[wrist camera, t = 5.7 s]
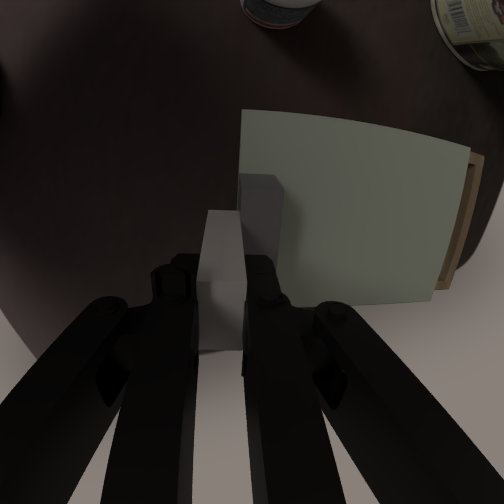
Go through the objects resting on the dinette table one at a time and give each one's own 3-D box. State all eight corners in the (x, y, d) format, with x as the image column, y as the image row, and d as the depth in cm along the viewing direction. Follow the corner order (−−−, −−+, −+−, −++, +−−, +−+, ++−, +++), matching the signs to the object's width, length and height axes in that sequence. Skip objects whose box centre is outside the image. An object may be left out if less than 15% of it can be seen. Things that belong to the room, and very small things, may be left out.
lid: (233, 300, 20) (235, 339, 17) (241, 109, 15) (246, 109, 12) (425, 295, 21) (449, 324, 18) (463, 145, 16) (501, 158, 13)
